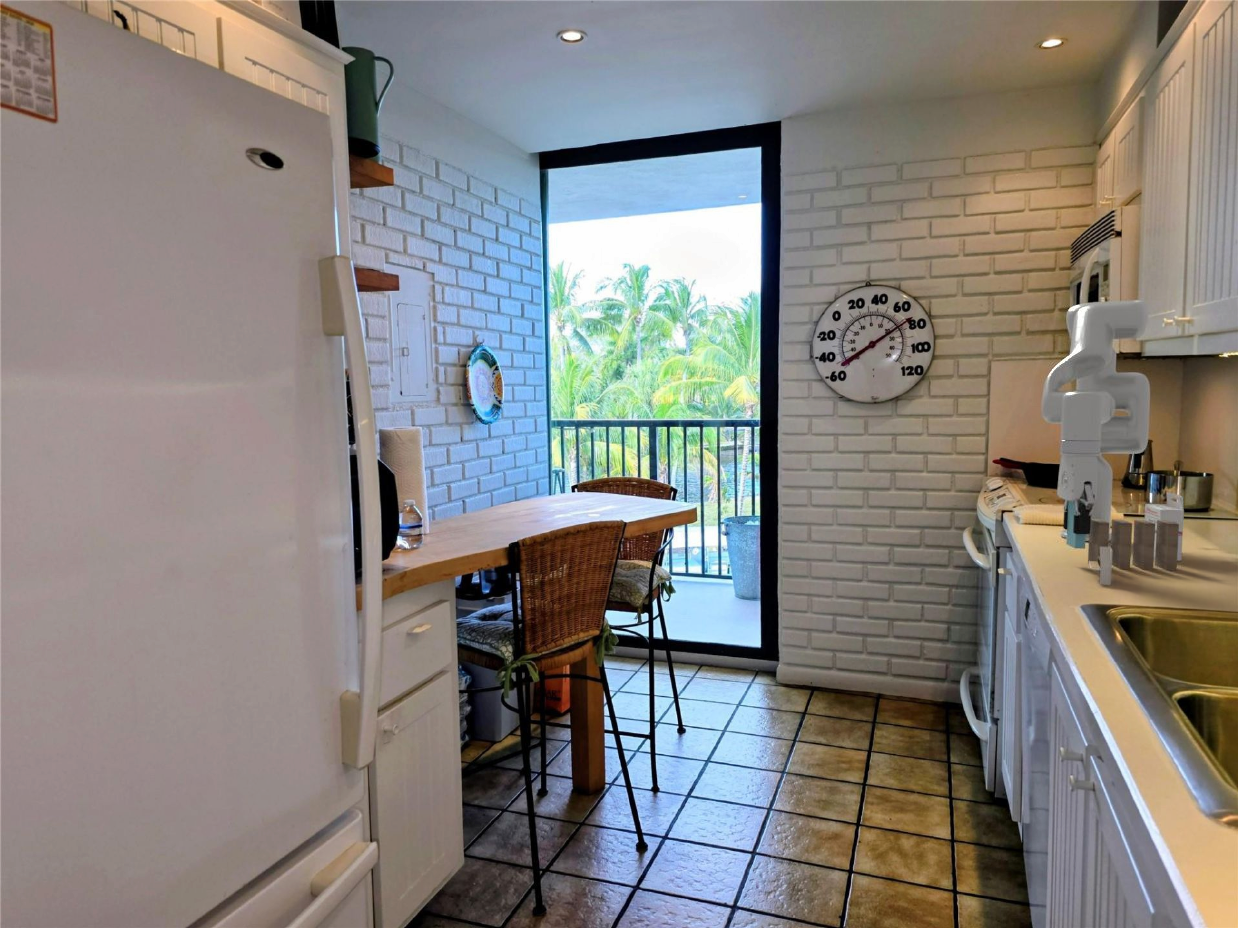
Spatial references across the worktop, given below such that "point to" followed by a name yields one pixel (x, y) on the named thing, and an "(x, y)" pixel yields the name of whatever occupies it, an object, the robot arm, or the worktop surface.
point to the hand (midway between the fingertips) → (1076, 530)
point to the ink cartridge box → (1167, 516)
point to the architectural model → (1103, 565)
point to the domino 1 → (1072, 538)
